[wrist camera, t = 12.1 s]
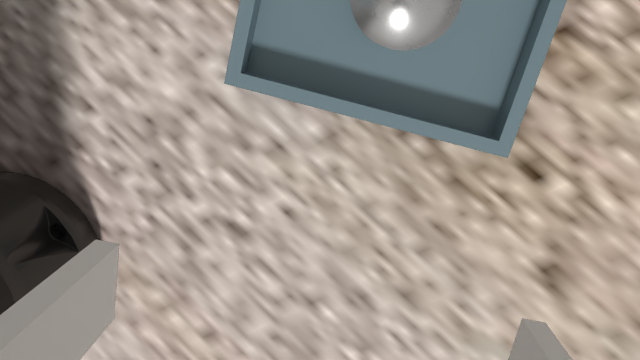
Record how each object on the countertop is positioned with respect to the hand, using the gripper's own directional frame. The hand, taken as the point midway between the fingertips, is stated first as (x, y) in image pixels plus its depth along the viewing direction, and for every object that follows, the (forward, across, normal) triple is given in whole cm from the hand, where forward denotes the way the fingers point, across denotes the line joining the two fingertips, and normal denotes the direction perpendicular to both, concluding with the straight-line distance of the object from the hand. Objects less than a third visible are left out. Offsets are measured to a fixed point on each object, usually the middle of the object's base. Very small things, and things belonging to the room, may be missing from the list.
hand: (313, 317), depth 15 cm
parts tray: (+23, +3, +12) cm, 26 cm away
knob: (+23, +2, +12) cm, 26 cm away
